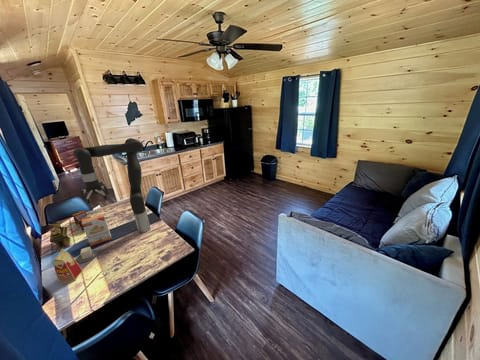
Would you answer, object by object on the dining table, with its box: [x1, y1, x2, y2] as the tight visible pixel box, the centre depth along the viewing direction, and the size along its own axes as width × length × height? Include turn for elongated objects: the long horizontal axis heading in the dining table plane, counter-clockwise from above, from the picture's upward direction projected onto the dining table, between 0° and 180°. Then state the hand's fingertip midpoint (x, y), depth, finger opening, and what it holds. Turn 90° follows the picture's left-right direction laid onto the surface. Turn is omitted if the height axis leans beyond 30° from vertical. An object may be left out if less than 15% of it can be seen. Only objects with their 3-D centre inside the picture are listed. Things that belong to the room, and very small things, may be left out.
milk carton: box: [52, 248, 84, 284], centre depth 121 cm, size 9×9×20 cm
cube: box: [79, 246, 93, 259], centre depth 140 cm, size 5×5×5 cm
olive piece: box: [47, 221, 71, 251], centre depth 150 cm, size 20×10×20 cm, turn 37°
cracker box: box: [82, 213, 112, 247], centre depth 153 cm, size 14×6×21 cm, turn 125°
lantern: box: [72, 210, 92, 232], centre depth 178 cm, size 10×9×30 cm
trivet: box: [76, 249, 99, 264], centre depth 141 cm, size 12×12×1 cm
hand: (98, 201), depth 135 cm, fingers open, 8 cm apart
